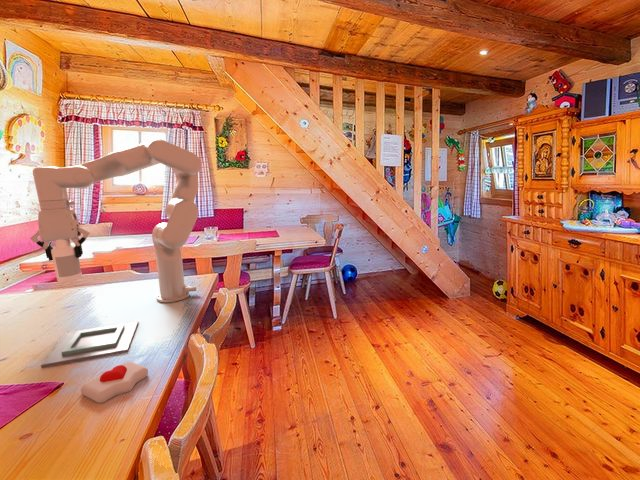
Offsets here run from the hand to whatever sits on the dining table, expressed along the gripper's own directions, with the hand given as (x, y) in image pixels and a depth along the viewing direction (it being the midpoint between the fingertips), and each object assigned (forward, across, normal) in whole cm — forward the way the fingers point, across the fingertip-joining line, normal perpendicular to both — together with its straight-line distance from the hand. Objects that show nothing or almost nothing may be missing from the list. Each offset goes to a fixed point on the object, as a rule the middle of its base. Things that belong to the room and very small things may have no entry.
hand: (65, 257), depth 108 cm
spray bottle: (+8, 0, 0) cm, 8 cm away
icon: (+24, -21, +47) cm, 57 cm away
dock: (+23, -10, +20) cm, 32 cm away
